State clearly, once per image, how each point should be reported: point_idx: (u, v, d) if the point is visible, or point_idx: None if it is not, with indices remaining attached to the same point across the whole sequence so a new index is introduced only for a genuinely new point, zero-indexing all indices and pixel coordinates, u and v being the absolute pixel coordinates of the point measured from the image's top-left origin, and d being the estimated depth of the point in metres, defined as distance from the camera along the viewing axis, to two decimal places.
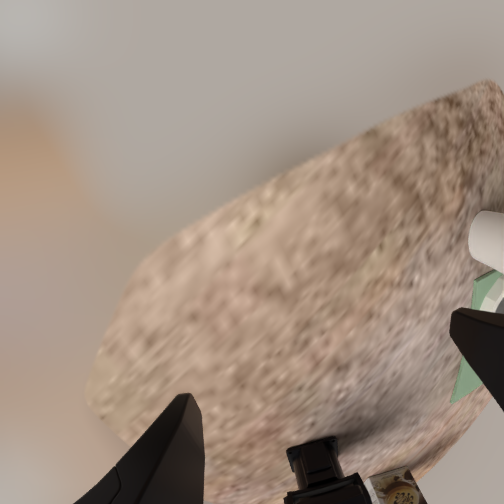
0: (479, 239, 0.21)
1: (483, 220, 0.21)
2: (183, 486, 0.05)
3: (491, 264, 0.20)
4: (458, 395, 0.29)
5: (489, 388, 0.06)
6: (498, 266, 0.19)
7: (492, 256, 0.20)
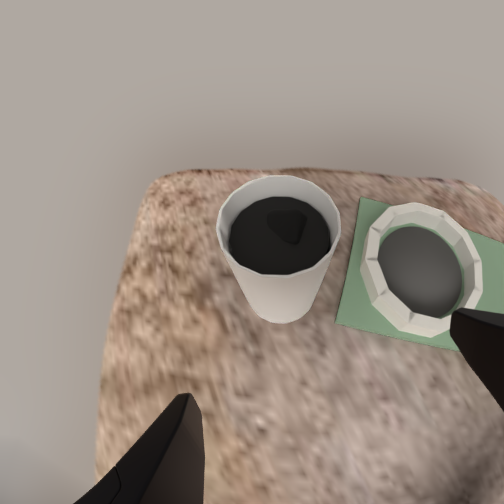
0: (261, 313, 0.21)
1: None
2: (183, 486, 0.05)
3: (294, 310, 0.19)
4: None
5: (489, 388, 0.06)
6: (290, 307, 0.18)
7: (275, 310, 0.19)
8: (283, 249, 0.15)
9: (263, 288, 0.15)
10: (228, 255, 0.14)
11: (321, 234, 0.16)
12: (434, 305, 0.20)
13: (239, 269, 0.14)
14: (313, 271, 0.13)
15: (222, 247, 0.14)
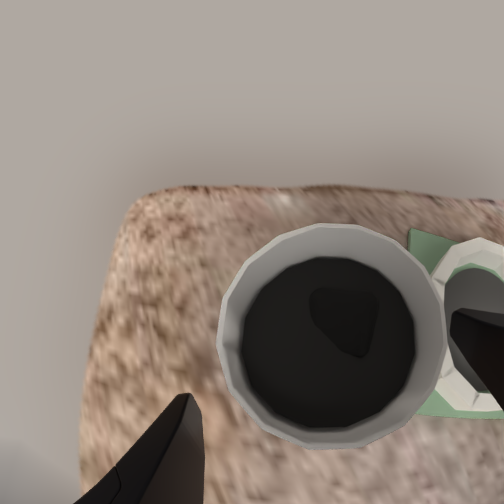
0: None
1: None
2: (183, 486, 0.05)
3: None
4: None
5: (489, 388, 0.06)
6: None
7: None
8: (342, 367, 0.08)
9: None
10: (243, 405, 0.06)
11: (403, 333, 0.08)
12: None
13: None
14: None
15: (231, 387, 0.07)
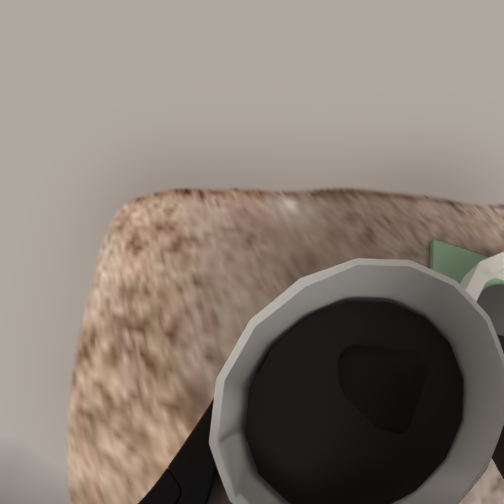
0: None
1: None
2: None
3: None
4: None
5: None
6: None
7: None
8: (376, 447, 0.05)
9: None
10: None
11: (451, 397, 0.05)
12: None
13: None
14: None
15: (232, 497, 0.04)
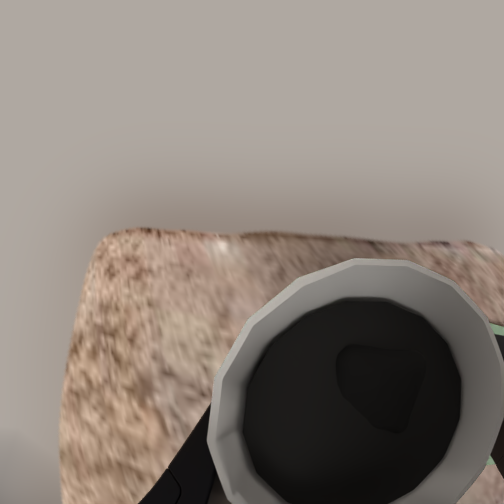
0: None
1: None
2: None
3: None
4: None
5: None
6: None
7: None
8: (374, 447, 0.05)
9: None
10: None
11: (449, 397, 0.05)
12: None
13: None
14: None
15: (230, 495, 0.04)
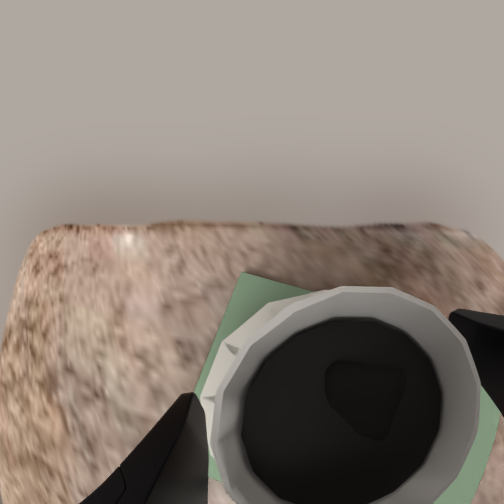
0: None
1: None
2: (188, 486, 0.05)
3: None
4: (460, 497, 0.08)
5: (487, 390, 0.06)
6: None
7: None
8: (357, 451, 0.06)
9: None
10: None
11: (429, 408, 0.06)
12: None
13: None
14: None
15: (229, 490, 0.04)
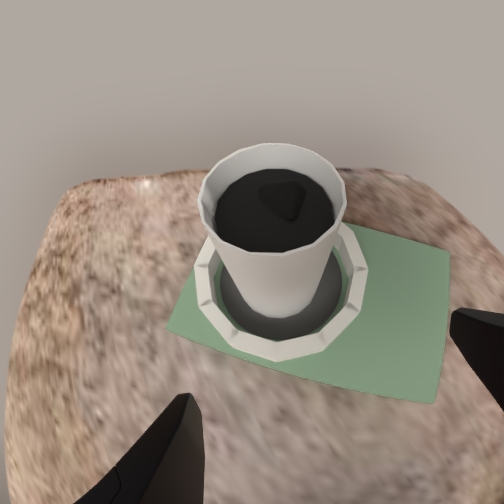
0: (255, 305, 0.18)
1: None
2: (183, 486, 0.05)
3: (292, 302, 0.16)
4: (421, 388, 0.16)
5: (489, 388, 0.06)
6: (287, 297, 0.15)
7: (270, 302, 0.16)
8: (278, 225, 0.13)
9: (253, 271, 0.12)
10: (210, 230, 0.12)
11: (323, 209, 0.13)
12: (288, 323, 0.19)
13: (222, 247, 0.11)
14: (313, 249, 0.11)
15: (203, 221, 0.12)
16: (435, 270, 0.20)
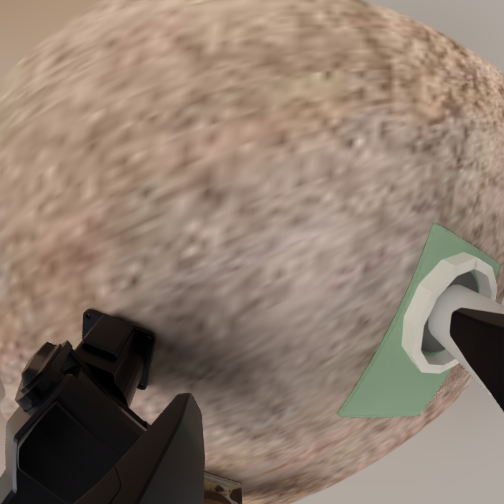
0: (446, 307, 0.20)
1: (459, 291, 0.20)
2: (183, 486, 0.05)
3: (447, 340, 0.19)
4: (353, 408, 0.24)
5: (489, 388, 0.06)
6: (455, 344, 0.18)
7: None
8: None
9: None
10: None
11: None
12: None
13: None
14: None
15: None
16: (414, 407, 0.26)
